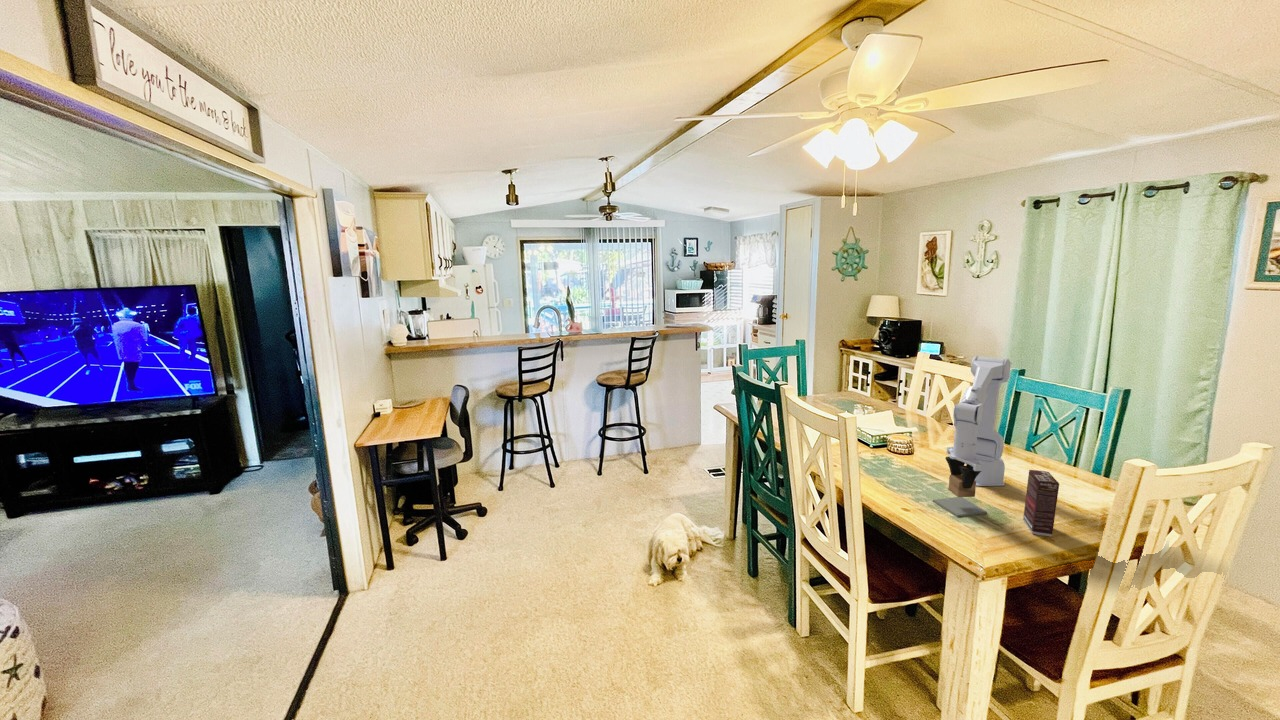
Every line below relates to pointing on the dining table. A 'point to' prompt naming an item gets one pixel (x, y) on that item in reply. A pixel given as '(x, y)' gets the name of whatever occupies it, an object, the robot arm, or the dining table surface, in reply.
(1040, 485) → the supplement box
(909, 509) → the dining table surface
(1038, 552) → the dining table surface
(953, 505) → the slate coaster
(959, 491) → the walnut cube
